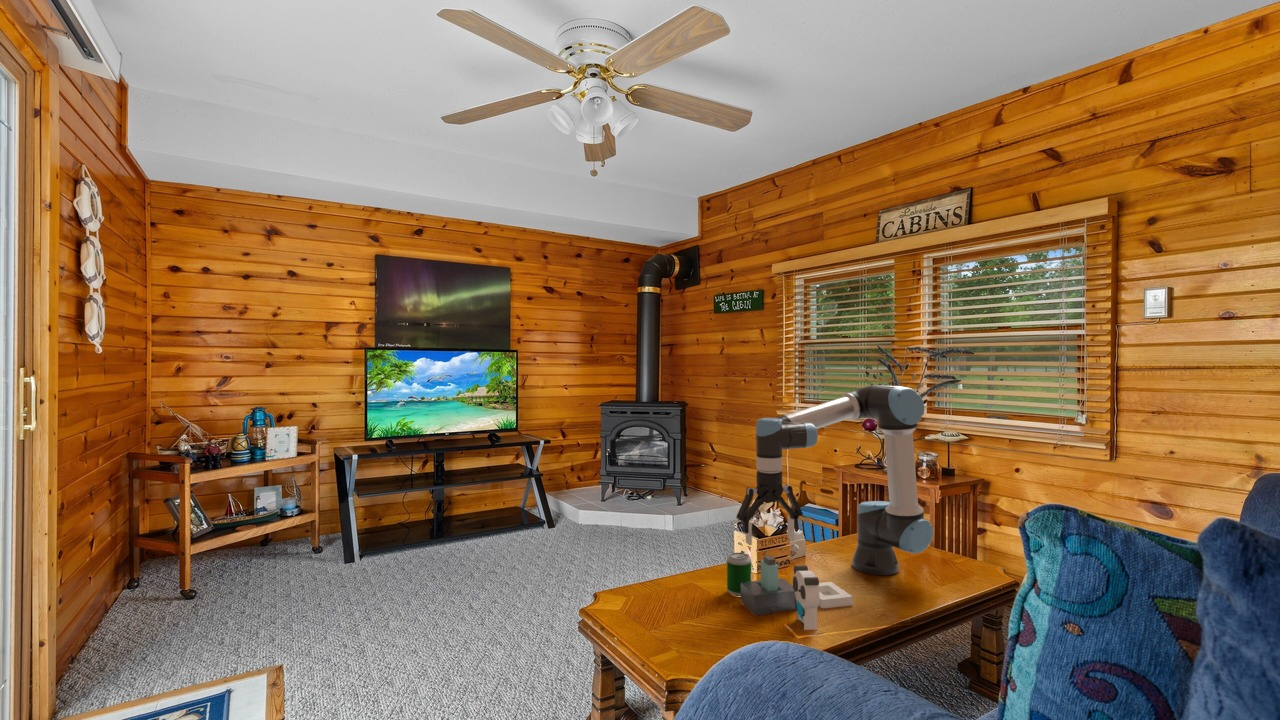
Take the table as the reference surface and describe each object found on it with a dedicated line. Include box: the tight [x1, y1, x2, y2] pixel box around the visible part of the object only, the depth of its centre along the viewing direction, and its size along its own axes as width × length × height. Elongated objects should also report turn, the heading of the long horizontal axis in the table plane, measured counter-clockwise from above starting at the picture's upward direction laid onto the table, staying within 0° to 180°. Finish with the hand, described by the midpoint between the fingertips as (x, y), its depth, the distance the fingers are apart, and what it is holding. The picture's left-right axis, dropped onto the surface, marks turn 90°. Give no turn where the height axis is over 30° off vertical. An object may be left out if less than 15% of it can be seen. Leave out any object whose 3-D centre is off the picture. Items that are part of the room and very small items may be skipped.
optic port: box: [740, 577, 797, 616], centre depth 182 cm, size 14×10×6 cm
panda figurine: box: [785, 565, 825, 636], centre depth 169 cm, size 12×11×15 cm
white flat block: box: [818, 581, 854, 609], centre depth 186 cm, size 10×12×3 cm
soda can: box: [726, 552, 752, 596], centre depth 191 cm, size 8×8×12 cm
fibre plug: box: [760, 555, 779, 592], centre depth 182 cm, size 3×5×13 cm, turn 13°
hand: (770, 541), depth 182 cm, fingers open, 13 cm apart
